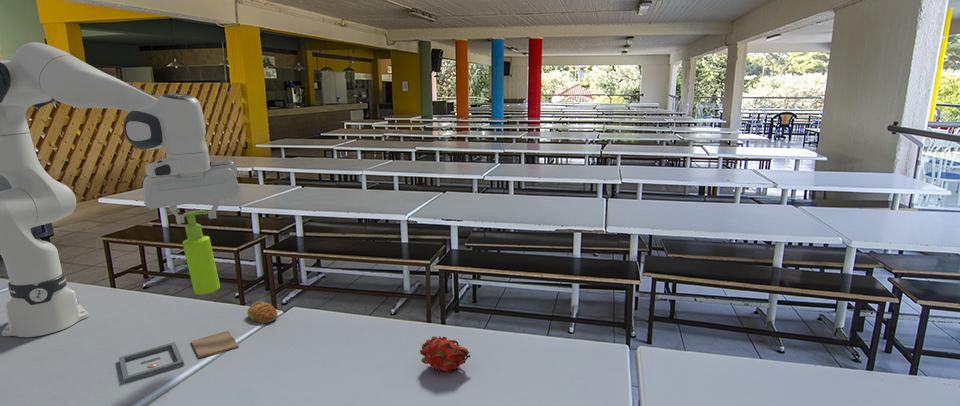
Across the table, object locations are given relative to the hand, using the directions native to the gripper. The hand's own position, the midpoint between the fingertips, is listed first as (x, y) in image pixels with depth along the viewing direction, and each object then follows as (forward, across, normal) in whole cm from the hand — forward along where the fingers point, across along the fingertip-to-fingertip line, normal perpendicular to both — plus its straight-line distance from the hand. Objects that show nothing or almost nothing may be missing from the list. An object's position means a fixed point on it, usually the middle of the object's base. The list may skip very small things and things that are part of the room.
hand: (196, 220), depth 128 cm
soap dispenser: (+18, -1, +1) cm, 18 cm away
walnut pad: (+33, 0, 0) cm, 33 cm away
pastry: (+34, -15, -9) cm, 38 cm away
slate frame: (+33, +14, 0) cm, 36 cm away
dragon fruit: (+33, -40, +46) cm, 70 cm away
